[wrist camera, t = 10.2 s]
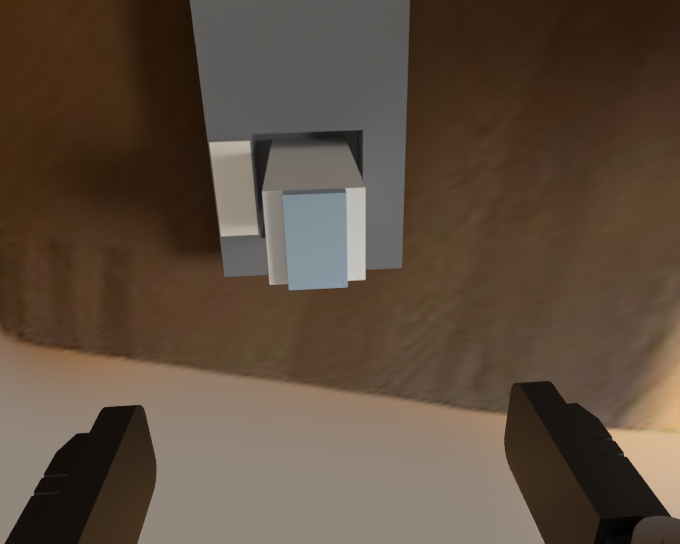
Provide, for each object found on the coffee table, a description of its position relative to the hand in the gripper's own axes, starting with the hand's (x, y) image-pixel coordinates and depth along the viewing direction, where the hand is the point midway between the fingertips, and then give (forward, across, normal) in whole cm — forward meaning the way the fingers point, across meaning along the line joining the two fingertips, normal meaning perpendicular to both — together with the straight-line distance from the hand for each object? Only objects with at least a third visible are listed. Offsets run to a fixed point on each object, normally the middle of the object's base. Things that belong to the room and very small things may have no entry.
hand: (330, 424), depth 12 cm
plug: (+21, 0, 0) cm, 21 cm away
